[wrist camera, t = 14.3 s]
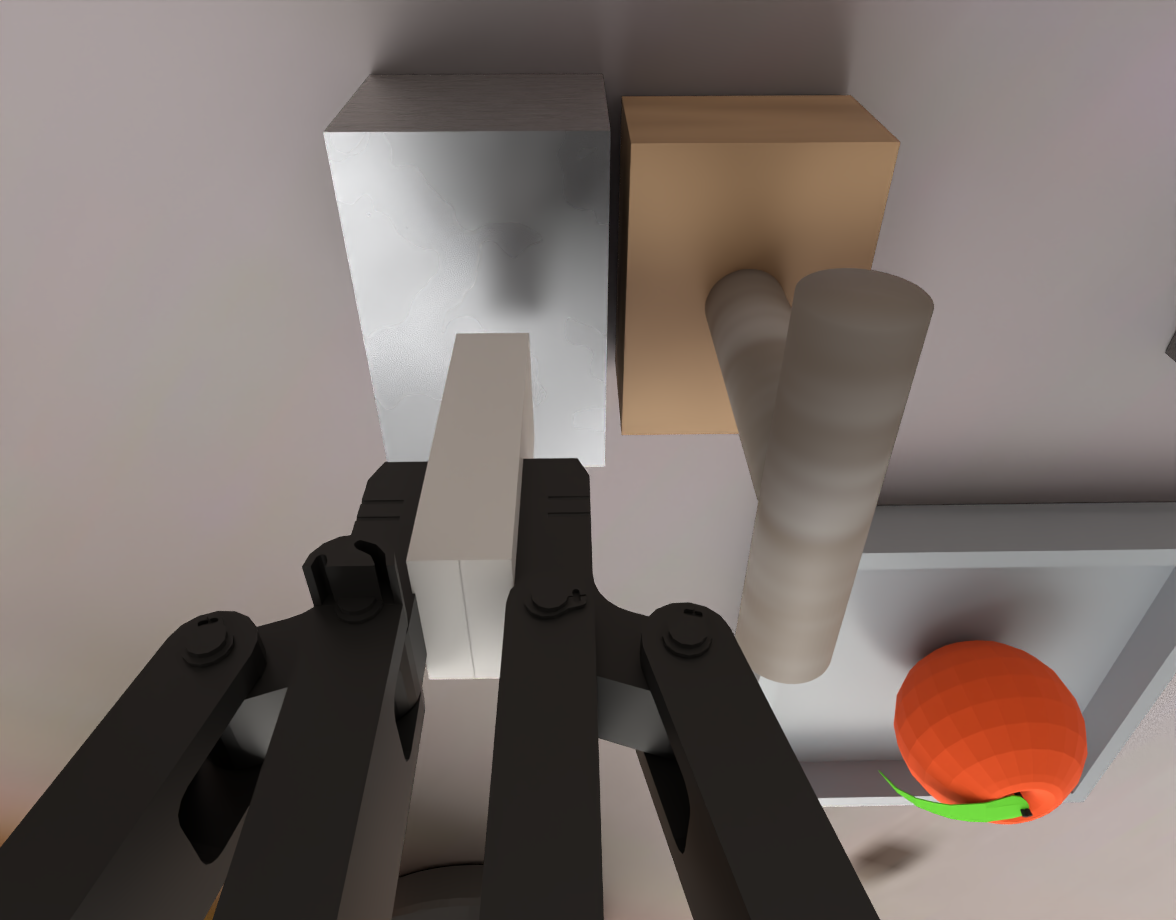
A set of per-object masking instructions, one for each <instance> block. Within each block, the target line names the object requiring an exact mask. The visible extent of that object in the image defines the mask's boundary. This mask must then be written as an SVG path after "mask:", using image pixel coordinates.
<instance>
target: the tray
mask: <svg viewBox="0 0 1176 920" xmlns="http://www.w3.org/2000/svg"><path fill="white" fill-rule="evenodd" d="M973 640H984V641H995V642H999V643H1003V644H1006V645H1009V646H1012V647H1015V648H1018V649H1021V650H1023V651H1025V652H1027V653H1029V654H1030V655H1032V656H1034V657H1036V658H1037V659H1038V660H1040V661H1041V662H1042V663H1044V664H1045V665H1047V666H1048V667H1049V668H1051V669H1052V670H1053V671H1054V672H1055V673H1056V674H1057V676H1058V677H1059V678H1060V679H1061V681H1062V682H1063V683H1064V684H1065V686H1066V687H1067V688H1068V690H1069V691H1070V692H1071V693H1072V695H1073V696H1074V697H1075V699H1076V701H1077V703H1078V706H1079V708H1080V711H1081V713H1082V716H1083V718H1084V721H1085V728H1086V738H1087V753H1088V754H1087V758H1086V761H1085V765H1084V768H1083V771H1082V775H1081V777H1080V780H1079V783H1078V784H1077V785H1076V787H1075V788H1074V789H1073V790H1072V791H1071V793H1070V794H1069V795H1068V796H1067V797H1066V799H1065V800H1064V801H1063V802H1084V801H1085V799H1086V798H1087V797H1088V795H1089V794H1090V792H1091V791H1092V790H1093V788H1094V787H1095V785H1096V784H1097V783H1098V781H1099V780H1100V778H1101V777H1102V776H1103V774H1104V773H1105V771H1106V770H1107V769H1108V767H1109V766H1110V764H1111V763H1112V762H1113V760H1114V759H1115V757H1116V756H1117V755H1118V753H1119V752H1120V750H1121V749H1122V748H1123V746H1124V745H1125V744H1126V742H1127V741H1128V739H1129V738H1130V737H1131V735H1132V734H1133V732H1134V731H1135V730H1136V728H1137V727H1138V725H1139V724H1140V723H1141V721H1142V720H1143V718H1144V717H1145V716H1146V714H1147V713H1148V711H1149V710H1150V709H1151V707H1152V706H1153V704H1154V703H1155V702H1156V700H1157V699H1158V697H1159V696H1160V695H1161V693H1162V692H1163V690H1164V689H1165V688H1166V686H1167V685H1168V683H1169V682H1170V681H1171V679H1172V678H1173V676H1174V675H1175V674H1176V502H1142V503H1061V504H981V505H900V506H876V508H875V512H874V515H873V519H872V522H871V526H870V529H869V532H868V536H867V539H866V543H865V546H864V550H863V553H862V556H861V560H860V563H859V567H858V570H857V573H856V577H855V580H854V584H853V587H852V591H851V594H850V597H849V601H848V604H847V608H846V611H845V615H844V618H843V621H842V625H841V628H840V632H839V635H838V639H837V642H836V645H835V649H834V652H833V656H832V659H831V662H830V665H829V667H828V668H827V670H826V671H825V672H824V673H823V674H822V675H821V676H819V677H818V678H816V679H814V680H812V681H809V682H806V683H801V684H784V683H778V682H775V681H772V680H769V679H766V678H764V677H762V676H760V675H759V674H757V673H755V672H754V671H753V670H752V671H753V673H754V675H755V677H756V679H757V681H758V683H759V685H760V687H761V689H762V691H763V693H764V695H765V697H766V699H767V700H768V702H769V704H770V706H771V708H772V710H773V712H774V714H775V716H776V718H777V720H778V722H779V724H780V726H781V728H782V730H783V732H784V734H785V736H786V738H787V739H788V741H789V743H790V745H791V747H792V749H793V751H794V753H795V755H796V757H797V759H798V761H799V763H800V765H801V767H802V769H803V771H804V773H805V775H806V777H807V778H808V780H809V782H810V784H811V786H812V788H813V790H814V792H815V794H816V796H817V798H818V800H819V802H820V804H821V806H822V807H843V806H898V805H914V804H913V803H911V802H910V801H908V800H907V799H906V798H904V797H903V796H901V795H900V794H898V793H897V792H896V791H895V790H894V789H893V787H892V786H891V785H890V784H889V783H888V782H887V780H886V779H885V778H884V777H883V776H882V775H881V773H880V772H879V771H878V770H880V771H881V772H882V773H883V774H884V775H885V776H886V777H887V778H888V779H889V780H890V781H891V782H892V783H893V784H894V785H895V786H896V787H897V788H898V789H900V790H902V791H904V792H906V793H908V794H910V795H912V796H914V797H916V798H920V799H924V800H929V801H933V802H939V801H937V800H936V799H935V798H934V797H933V796H932V795H930V794H929V793H928V792H927V791H926V790H925V789H924V787H923V786H922V785H921V784H920V783H919V782H918V781H917V780H916V779H915V778H914V777H913V776H912V774H911V772H910V770H909V768H908V766H907V765H906V763H905V761H904V759H903V757H902V755H901V752H900V750H899V747H898V744H897V739H896V735H895V730H894V716H895V707H896V698H897V694H898V692H899V690H900V688H901V686H902V684H903V682H904V680H905V678H906V676H907V674H908V672H909V671H910V670H911V669H912V668H913V666H914V665H915V664H916V663H917V662H918V661H920V660H921V659H923V658H924V657H926V656H927V655H929V654H930V653H932V652H933V651H935V650H936V649H939V648H941V647H943V646H945V645H949V644H952V643H956V642H963V641H973ZM1063 802H1062V803H1063ZM939 803H941V802H939Z"/></svg>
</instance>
